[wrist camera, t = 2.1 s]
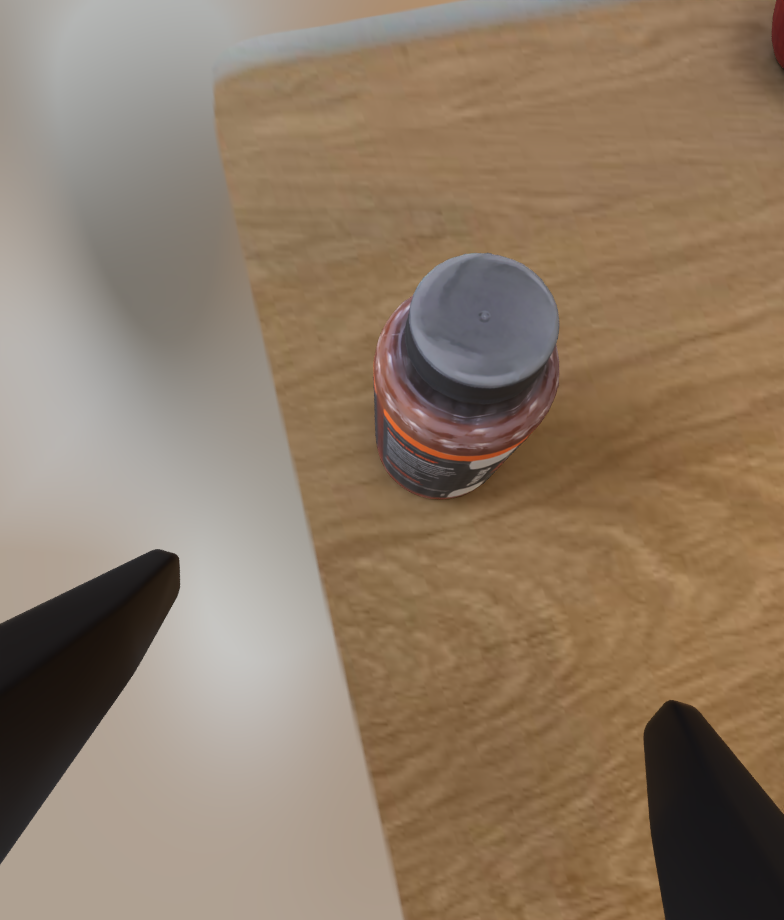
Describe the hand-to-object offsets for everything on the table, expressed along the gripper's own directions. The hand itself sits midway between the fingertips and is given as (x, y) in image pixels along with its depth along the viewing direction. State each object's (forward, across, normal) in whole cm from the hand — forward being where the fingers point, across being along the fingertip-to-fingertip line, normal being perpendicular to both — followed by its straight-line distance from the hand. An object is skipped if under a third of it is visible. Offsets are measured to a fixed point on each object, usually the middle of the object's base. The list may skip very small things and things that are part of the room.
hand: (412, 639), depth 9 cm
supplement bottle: (+15, 0, +4) cm, 16 cm away
